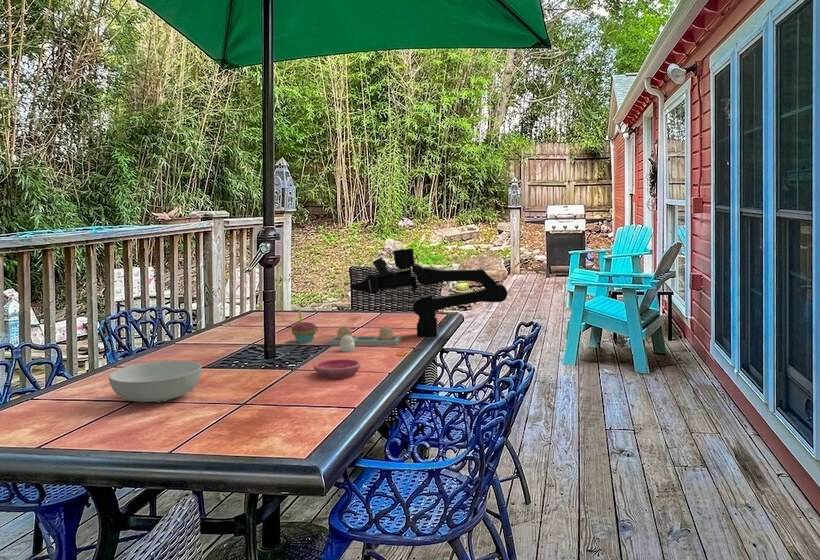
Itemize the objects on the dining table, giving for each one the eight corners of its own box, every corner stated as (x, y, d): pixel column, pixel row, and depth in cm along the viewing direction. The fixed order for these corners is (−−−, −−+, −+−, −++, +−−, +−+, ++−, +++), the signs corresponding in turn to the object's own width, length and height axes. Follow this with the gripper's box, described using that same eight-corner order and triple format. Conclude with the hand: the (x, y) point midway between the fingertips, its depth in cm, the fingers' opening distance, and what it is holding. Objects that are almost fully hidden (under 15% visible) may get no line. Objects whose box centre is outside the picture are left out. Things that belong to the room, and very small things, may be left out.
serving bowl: (93, 401, 162) (91, 373, 162) (171, 382, 179) (170, 357, 178) (141, 416, 149) (139, 385, 149) (220, 394, 166) (219, 366, 165)
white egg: (356, 350, 213) (355, 333, 212) (353, 353, 209) (352, 336, 208) (342, 350, 214) (341, 333, 213) (339, 353, 209) (338, 336, 209)
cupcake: (286, 344, 226) (285, 308, 225) (302, 340, 233) (300, 305, 232) (308, 346, 222) (306, 309, 221) (323, 341, 229) (321, 306, 228)
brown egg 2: (394, 341, 223) (393, 325, 223) (391, 344, 219) (391, 327, 218) (381, 341, 224) (380, 325, 223) (378, 344, 219) (377, 327, 219)
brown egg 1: (352, 341, 225) (351, 325, 225) (349, 344, 221) (348, 327, 220) (339, 341, 226) (338, 325, 225) (336, 343, 222) (335, 327, 221)
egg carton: (401, 342, 225) (401, 336, 225) (397, 347, 217) (396, 341, 216) (335, 341, 228) (335, 336, 228) (328, 346, 220) (328, 340, 220)
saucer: (304, 375, 183) (304, 364, 183) (341, 367, 192) (340, 356, 191) (333, 383, 174) (333, 371, 174) (370, 374, 183) (369, 362, 183)
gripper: (397, 257, 241) (353, 263, 243) (391, 256, 223) (344, 263, 224) (401, 288, 241) (358, 294, 243) (396, 290, 223) (349, 296, 224)
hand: (352, 286), depth 233 cm, fingers open, 9 cm apart
